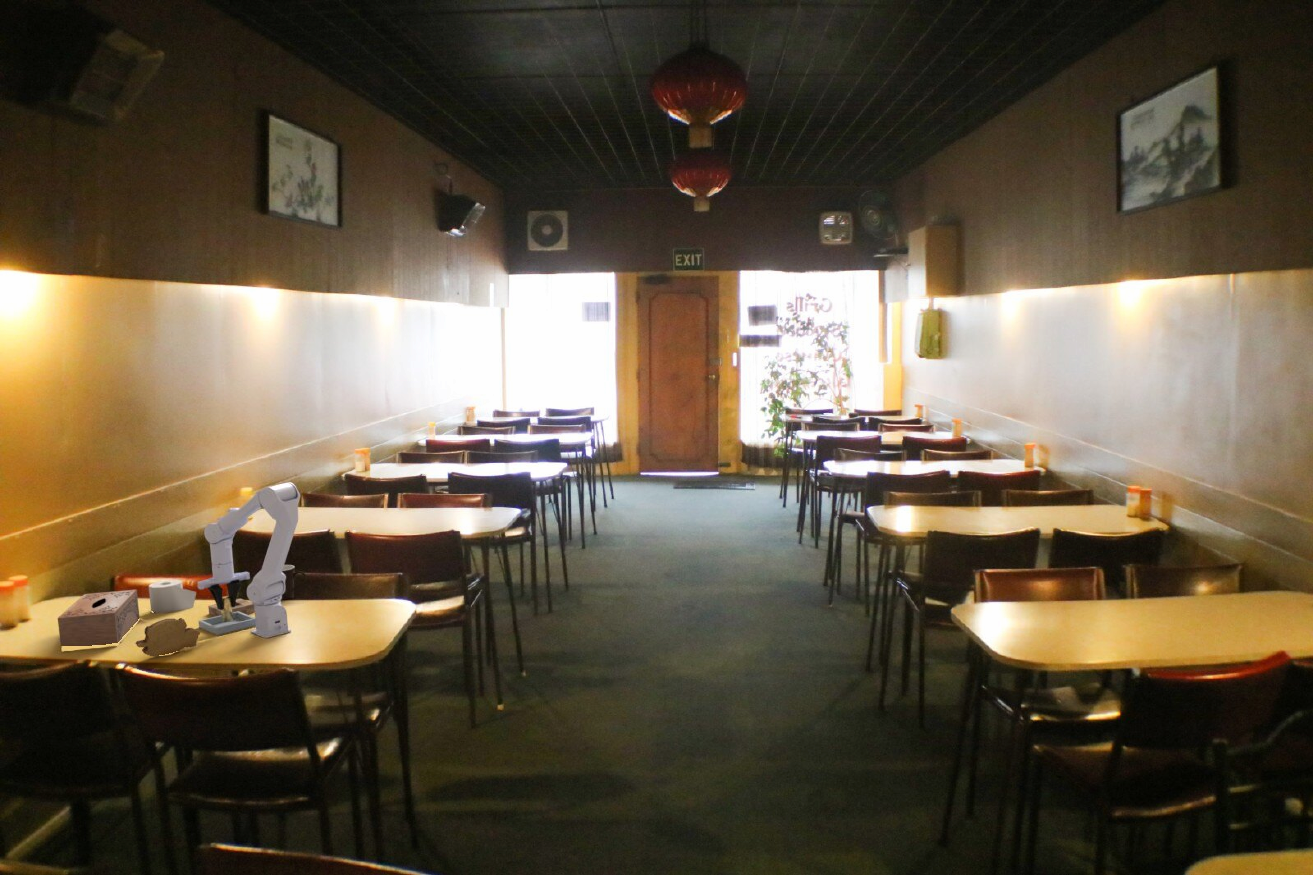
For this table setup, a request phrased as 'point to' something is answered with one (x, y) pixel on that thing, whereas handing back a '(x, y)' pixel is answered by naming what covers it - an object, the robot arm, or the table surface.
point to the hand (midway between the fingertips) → (226, 607)
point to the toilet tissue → (170, 596)
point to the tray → (227, 623)
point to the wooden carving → (168, 637)
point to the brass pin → (227, 609)
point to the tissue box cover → (99, 618)
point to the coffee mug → (290, 581)
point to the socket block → (234, 608)
